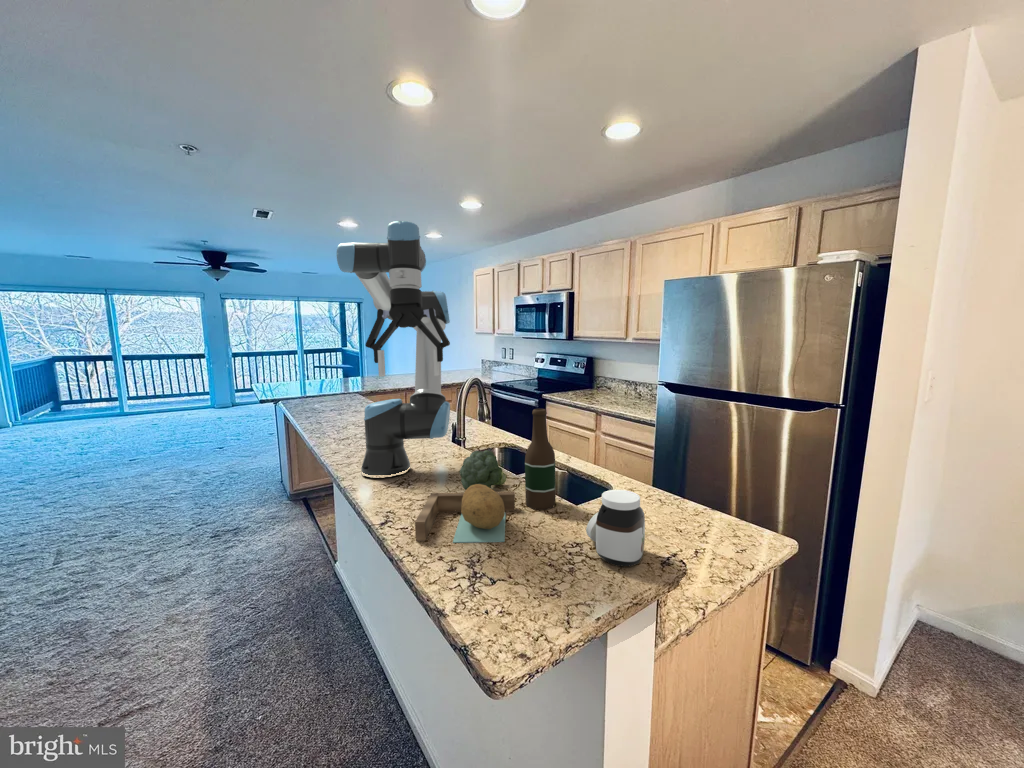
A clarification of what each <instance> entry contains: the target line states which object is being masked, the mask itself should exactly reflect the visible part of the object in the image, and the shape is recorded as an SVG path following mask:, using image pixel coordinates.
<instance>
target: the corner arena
mask: <svg viewBox="0 0 1024 768" xmlns="http://www.w3.org/2000/svg"><path fill="white" fill-rule="evenodd" d="M495 492H496V493H497V494H499V495H500V497H501V498H502V500H503V503H504V512H508V511H511V512H512V511H513V512H514V511H515V510H516V505H515V504H516V500H515V499H516V498H515V495H516V493H515V491H495ZM463 495H464V492H431V493H430V494H429V496H428V498H427V499H426V501H425V503H424V505H423V507H422V509H421V510H420V512H419V513H418V516H417V518H416V519H415V521H414V528H415V530H414V532H415V541H417V542H422V541H423V542H424V541H427V538H428V536H429V534H430V531H431V529H432V527H433V526H434V522H435V520H436V518H437V516H438V514H439V513H453V512H454V513H459V512H461V506H462V498H463Z"/></svg>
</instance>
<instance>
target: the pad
mask: <svg viewBox="0 0 1024 768" xmlns="http://www.w3.org/2000/svg"><path fill="white" fill-rule="evenodd" d="M504 512H505V516H504V517H503V519H502V520H501V522H500V523H499V525H498V526H496V527H493V528H491V529H483V528H477V527H475V526H473V525H472V524H470V523H468V522H467V521H465V520H464V517H463V515H462V513H460V515H459V519H458V524H457V526H456V529H455V532H454V536H453V539H452V543H453V544H466V543H467V544H468V543H473V544H474V543H504V542H505V538H506V537H505V535H506V514H507V513H506V512H507V511H504Z"/></svg>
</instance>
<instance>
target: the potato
mask: <svg viewBox="0 0 1024 768" xmlns="http://www.w3.org/2000/svg"><path fill="white" fill-rule="evenodd" d="M496 492H497V491H495V490H494V489H492V487H491V488H489V487H487V486H486V485H481V484H475V485H471V486H470V487H469V488H467V490H465V491H464V492H463V493H464V495H463V498H462V506H461V513H462V515H463V517H464V520H465V521H467V522H468V523H470V524H472V525H473V526H475V527H477V528H483V529H491V528H493V527H496V526H498V525H499V523H500V522H501V520H502V519H503V517H504V516H505V517H506V515H505V512H506V511H504V503H503V500H502V498H501V497H500V495H499V494H497V493H496ZM461 513H460V514H461Z"/></svg>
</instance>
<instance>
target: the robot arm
mask: <svg viewBox="0 0 1024 768" xmlns="http://www.w3.org/2000/svg"><path fill="white" fill-rule="evenodd" d="M386 231H387V234H386V240H387V242H354V241H352V242H341V243H339V244H338V245H337V247H336V261H337V262H336V263H337V266H338V268H339V269H340V271H341V272H343V273H350V274H355V275H356V276H357V278H358V280H359V281H360V283H362V285H363V287H364V289H365V290H366V291H367V293H369V295H370V297H371V298H372V300H373V301H372V303H373V306H374V307H375V309H376V310H377V312H376V319H375V321H374V324H373V326H372V328H371V331H370V333H369V335H368V338H367V339H366V342H365V347H366V348H370V349H372V350H373V362H374V364H377V365H378V377H379V378H380V377H382V378H383V377H386V364H385V363H386V362H385V361H386V360H385V350H384V349H382V348H383V346H384V345H385V344H386V342H388V341H389V339H390V338H391V337H392V335H393V334H394V333H395V331H396V330H397V329H398V328H403V329H405V328H413V329H414V330H415V331H416V334H415V335H416V340H415V342H416V343H415V344H416V345H415V369H414V372H415V377H414V379H415V380H414V393H413V394H411V395H410V396H409V402H403V400H402V398H392V399H385V400H380V401H376V402H372V403H369V404H366V406H365V407H364V418H363V421H364V434H365V437H364V438H365V454H364V457H363V460H362V465H361V468H360V471H362V472H363V473H365V474H368V475H391V474H396V473H399V472H402V471H405V470H407V469H408V468H409V467H410V468H411V462H410V459H409V457H408V454H407V452H406V449H405V446H404V444H405V443H404V441H405V440H421V439H423V440H425V439H429V440H433V439H439V438H444V437H445V436H446V435H447V433H448V429H449V423H450V415H451V403H450V402H449V401H446V396H445V395H444V394H443V393H442V362H443V360H444V351H443V350H444V349H445V348H446V347H448V346H450V345H451V342H450V340H449V338H448V336H447V335H446V333H445V331H444V330H445V329H446V325H449V324H450V323H451V322H450V321H451V319H450V313H449V308H448V301H447V296H446V293H445V292H444V291H441V290H440V291H437V290H436V291H435V290H432V291H429V290H428V291H427V290H425V291H422V290H421V288H422V272H423V271H424V270H425V268H426V265H427V258H426V254H425V252H424V250H423V249H422V246H421V241H420V239H421V234H420V228H419V226H418V224H417V223H415V222H412V221H407V220H396V221H392V222H390V223H389V224H387V230H386ZM387 273H388V274H389V275H388V274H387ZM386 319H388V320H390V323H389V325H388V327H386V329H385V331H384V332H383V333H382V334H381V335H380V337H379V334H380V332H381V329H382V328H383V326H384V324H385V322H386V321H385V320H386ZM378 337H379V338H378ZM362 472H361V473H362Z"/></svg>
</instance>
